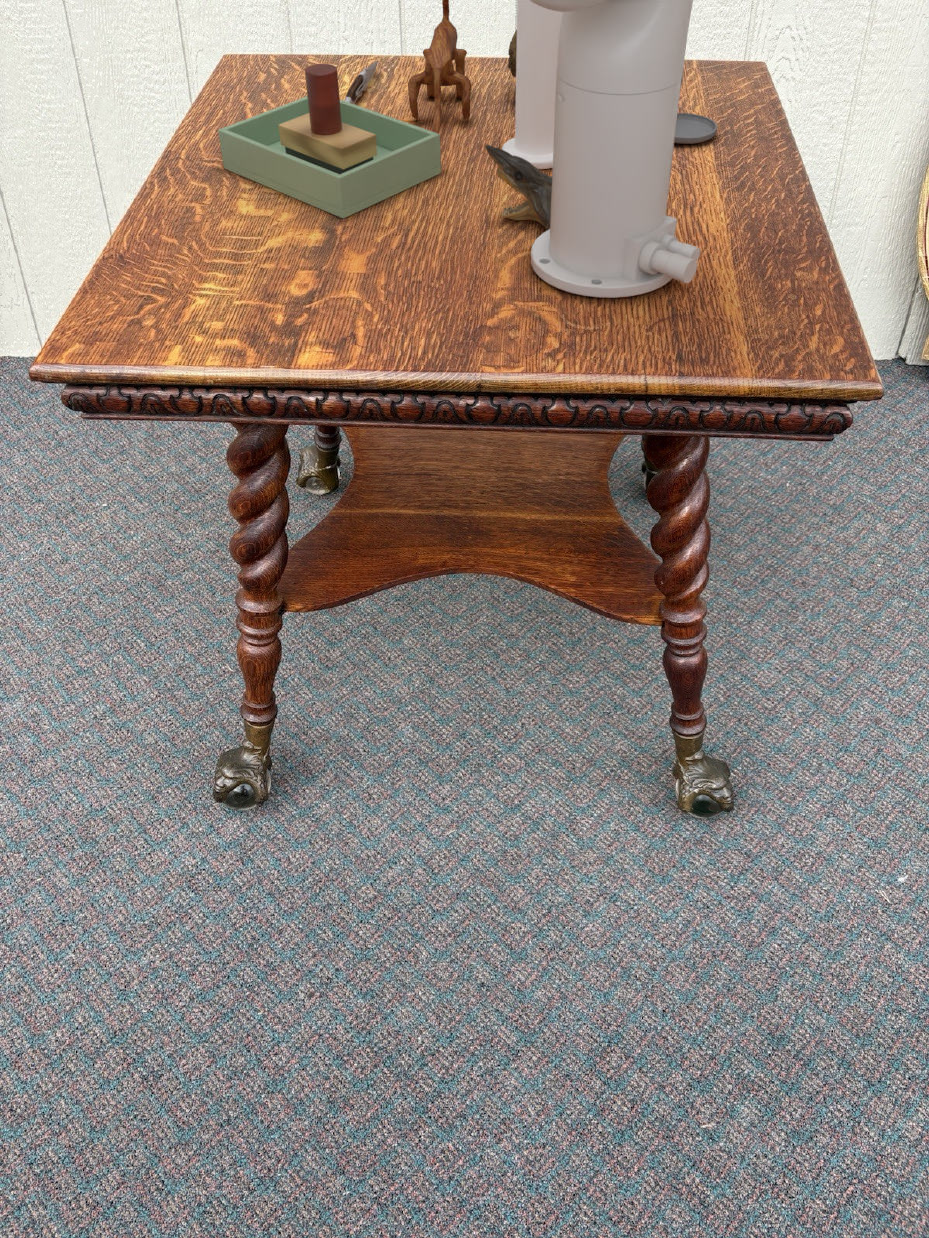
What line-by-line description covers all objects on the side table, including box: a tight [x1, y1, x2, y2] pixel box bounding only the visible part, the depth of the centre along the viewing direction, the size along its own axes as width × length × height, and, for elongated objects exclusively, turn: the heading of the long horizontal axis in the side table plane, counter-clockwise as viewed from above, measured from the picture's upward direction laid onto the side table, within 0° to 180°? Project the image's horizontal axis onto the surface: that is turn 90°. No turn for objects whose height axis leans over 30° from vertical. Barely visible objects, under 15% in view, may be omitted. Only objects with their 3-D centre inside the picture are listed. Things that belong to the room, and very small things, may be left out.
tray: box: [217, 95, 442, 219], centre depth 111 cm, size 17×13×4 cm
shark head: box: [484, 144, 552, 232], centre depth 101 cm, size 8×6×7 cm
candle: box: [501, 0, 563, 170], centre depth 106 cm, size 7×7×25 cm
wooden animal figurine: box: [407, 0, 472, 134], centre depth 117 cm, size 18×7×14 cm, turn 176°
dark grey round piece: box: [674, 75, 718, 145], centre depth 115 cm, size 8×8×10 cm
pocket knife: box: [344, 60, 378, 105], centre depth 127 cm, size 14×1×2 cm, turn 169°
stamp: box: [278, 63, 377, 175], centre depth 109 cm, size 9×4×9 cm, turn 48°
